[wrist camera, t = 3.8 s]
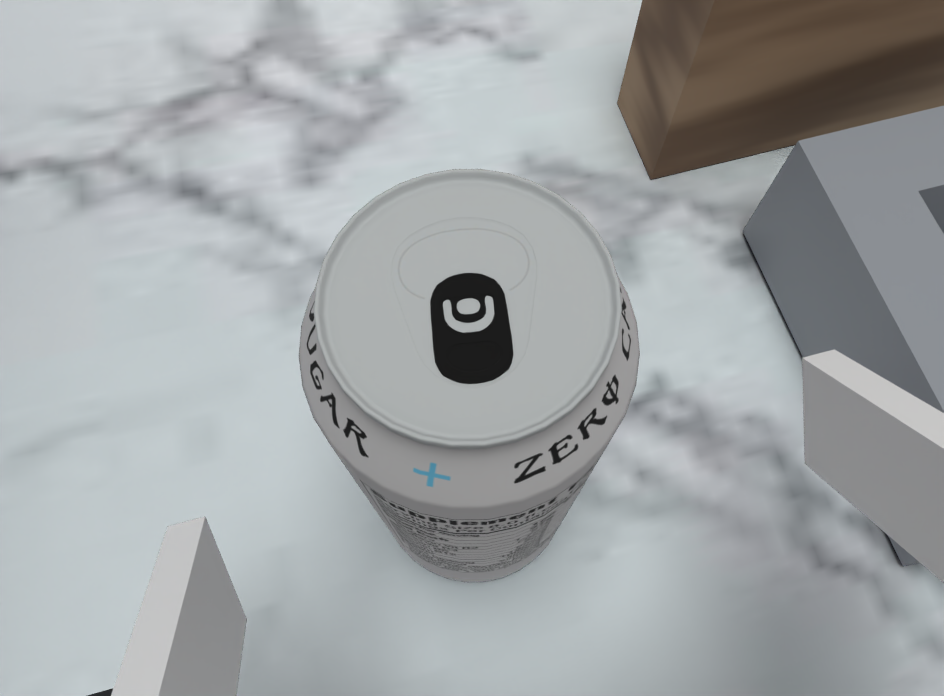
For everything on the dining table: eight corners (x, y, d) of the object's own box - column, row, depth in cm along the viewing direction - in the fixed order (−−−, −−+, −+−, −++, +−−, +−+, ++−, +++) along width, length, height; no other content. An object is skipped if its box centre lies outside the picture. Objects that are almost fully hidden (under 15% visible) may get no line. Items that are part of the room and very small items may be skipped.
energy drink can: (549, 399, 27) (623, 123, 13) (575, 574, 25) (699, 464, 11) (380, 417, 27) (273, 155, 13) (390, 594, 24) (275, 509, 11)
